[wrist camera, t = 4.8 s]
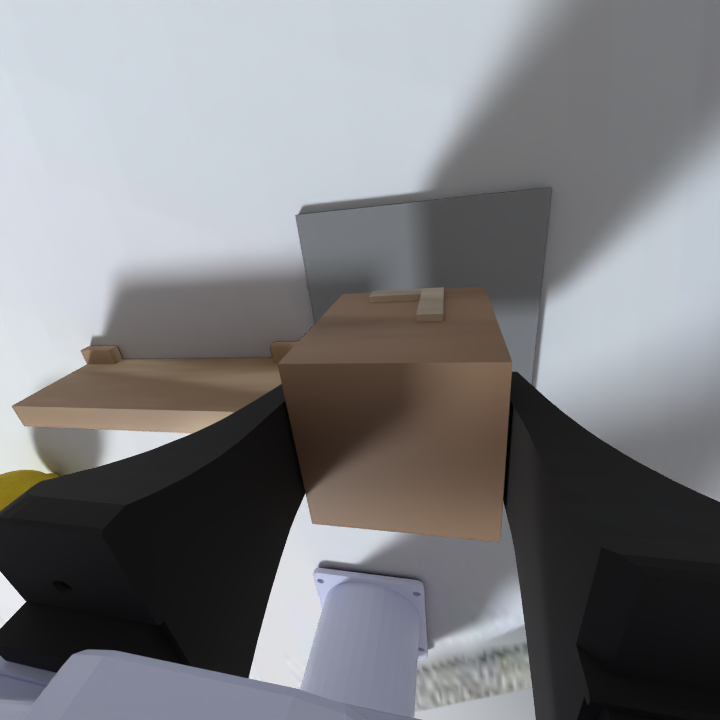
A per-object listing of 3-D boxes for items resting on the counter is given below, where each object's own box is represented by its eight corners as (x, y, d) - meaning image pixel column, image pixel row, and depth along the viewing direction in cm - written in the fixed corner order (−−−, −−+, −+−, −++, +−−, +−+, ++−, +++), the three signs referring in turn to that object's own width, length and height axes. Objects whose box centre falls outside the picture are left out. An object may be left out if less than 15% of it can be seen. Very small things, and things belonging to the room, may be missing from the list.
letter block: (480, 411, 15) (500, 542, 9) (357, 409, 16) (312, 523, 10) (484, 280, 12) (513, 352, 7) (342, 288, 14) (275, 355, 8)
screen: (320, 391, 20) (285, 453, 16) (109, 389, 23) (33, 440, 19) (310, 341, 19) (270, 393, 14) (89, 346, 22) (1, 390, 18)
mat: (527, 411, 18) (528, 414, 18) (331, 407, 20) (330, 410, 20) (550, 187, 14) (552, 187, 13) (297, 214, 16) (295, 215, 16)
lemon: (23, 436, 28) (-119, 527, 21) (91, 468, 28) (-27, 570, 21) (27, 481, 30) (-97, 575, 23) (89, 511, 30) (-17, 613, 23)
